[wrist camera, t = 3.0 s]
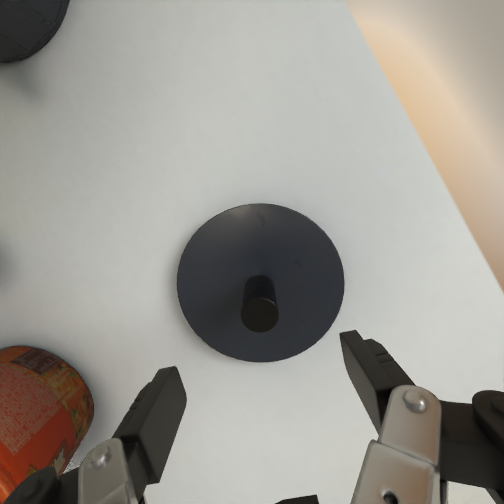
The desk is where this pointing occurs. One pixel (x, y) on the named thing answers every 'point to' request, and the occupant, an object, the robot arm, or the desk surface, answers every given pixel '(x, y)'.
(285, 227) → the lid
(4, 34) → the pot
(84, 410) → the food container
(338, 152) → the desk surface
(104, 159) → the desk surface
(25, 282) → the desk surface
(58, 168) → the desk surface
